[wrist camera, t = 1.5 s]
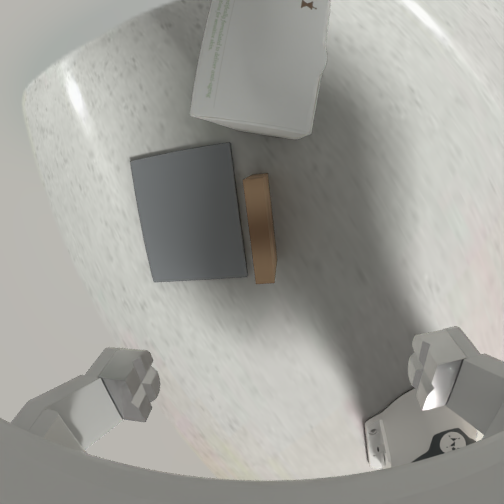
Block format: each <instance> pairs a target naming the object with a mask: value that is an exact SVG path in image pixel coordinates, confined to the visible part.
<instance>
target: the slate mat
mask: <svg viewBox="0 0 504 504" xmlns="http://www.w3.org/2000/svg"><path fill="white" fill-rule="evenodd" d="M130 162H131V169H132V175H133V182H134V188H135V194H136V200H137V205H138V211H139V216H140V221H141V226H142V231H143V236H144V241H145V246H146V250H147V255H148V259H149V264H150V268H151V272H152V277H153V281H154V282H171V281H189V280H206V279H223V278H238V277H247V276H248V274H247V267H246V259H245V252H244V245H243V237H242V230H241V222H240V215H239V207H238V200H237V192H236V185H235V177H234V169H233V162H232V154H231V146H230V143H222V144H216V145H210V146H204V147H198V148H192V149H186V150H181V151H176V152H171V153H166V154H161V155H156V156H151V157H147V158H142V159H138V160H134V161H130Z"/></svg>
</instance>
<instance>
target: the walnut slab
mask: <svg viewBox="0 0 504 504" xmlns="http://www.w3.org/2000/svg"><path fill="white" fill-rule="evenodd" d="M243 186H244V194H245V202H246V209H247V217H248V225H249V233H250V241H251V248H252V256H253V264H254V272H255V280H256V284H265V283H274V282H275V273H276V265H277V254H276V244H275V235H274V226H273V216H272V207H271V198H270V190H269V181H268V173H265V174H255V175H251V176H249V177H247V178H245V179H244V180H243Z"/></svg>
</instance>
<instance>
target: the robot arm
mask: <svg viewBox="0 0 504 504" xmlns="http://www.w3.org/2000/svg"><path fill="white" fill-rule="evenodd" d="M412 348H413V349H414V353H413V354H412V355H411V356H410V357H409V361H408V377H409V381H410V383H411V386H413V387H414V388H415V389H413V390H411V391H409V392H407V393H405V394H404V395H402V396H401V397H399V398H398V399H397V400H395V401H394V402H393V403H392V404H391V405H390V406H389V407H388V408H386V409H385V410H384V411H383V412H382V413H380V414H378V415H376V416H374V417H373V418H371V419H369V420H368V421H366V423H365V433H366V442H367V451H368V460H369V465H370V467H371V468H375V469H381V470H376V471H371V472H365V473H359V474H352V475H345V476H337V477H328V478H317V479H303V480H279V481H254V480H229V479H215V478H203V477H195V476H187V475H180V474H173V473H167V472H161V471H155V470H150V469H145V468H140V467H135V466H131V465H127V464H123V463H118V462H115V461H111V460H107V459H104V458H100V457H97V456H93V455H90V454H87V453H86V451H85V450H86V449H87V448H88V447H90V446H91V445H92V444H93V443H95V442H96V441H97V440H99V439H100V438H101V437H102V436H104V435H105V434H106V433H108V432H109V431H110V430H111V429H113V428H114V427H115V426H117V425H118V424H119V423H120V422H121V421H122V419H125V420H132V421H139V422H146V420H147V418H148V416H149V414H150V412H151V410H152V406H151V403H150V402H152V401H153V400H155V399H156V398H157V396H158V394H159V391H160V378H159V375H158V372H157V370H155V369H154V368H153V367H152V366H151V365H152V363H153V358H152V356H151V353H150V352H149V351H147V350H138V349H127V348H114V347H108V348H105V349H104V351H103V352H102V353H101V355H100V356H99V357H98V358H97V360H96V361H95V362H94V363H93V365H92V366H91V367H90V369H89V370H88V371H87V373H86V374H85V375H80V376H78V377H76V378H74V379H72V380H70V381H68V382H66V383H64V384H62V385H60V386H58V387H56V388H54V389H52V390H50V391H48V392H46V393H44V394H42V395H40V396H38V397H35V398H33V399H31V400H29V401H28V402H27V403H26V404H25V406H24V407H23V408H22V409H21V410H20V412H19V413H18V414H17V416H16V417H15V418H14V419H13V420H12V422H11V423H9V422H7V421H5V420H3V419H1V418H0V504H504V362H503V361H501V360H498V359H496V358H494V357H492V356H489V355H487V354H480V353H479V351H478V350H477V349H476V347H475V346H474V345H473V344H472V342H471V341H470V340H469V339H468V337H467V336H466V335H465V334H464V332H463V331H462V330H461V329H460V328H459V327H457V326H454V327H450V328H446V329H443V330H439V331H434V332H428V333H423V334H417V335H415V336H414V338H413V342H412ZM476 429H477V430H478V431H480V432H481V433H482V434H484V436H483V438H482V440H480V441H477V442H476V441H475V440H476V438H477V430H476Z"/></svg>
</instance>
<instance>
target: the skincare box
mask: <svg viewBox="0 0 504 504" xmlns="http://www.w3.org/2000/svg"><path fill="white" fill-rule="evenodd" d="M330 6H331V4H330V0H212V2H211V6H210V10H209V14H208V18H207V22H206V27H205V31H204V36H203V40H202V45H201V50H200V54H199V59H198V64H197V70H196V76H195V81H194V87H193V93H192V100H191V107H190V116H193V117H196V118H199V119H203V120H206V121H210V122H213V123H216V124H219V125H222V126H225V127H228V128H231V129H234V130H237V131H243V132H249V133H255V134H261V135H268V136H274V137H280V138H287V139H294V140H297V139H300V138H302V137H305V136H308V135H310V134H311V133H312V127H313V121H314V115H315V110H316V105H317V99H318V93H319V88H320V82H321V76H322V72H323V70H324V68H325V66H326V63H327V51H326V48H325V47H326V40H327V32H328V24H329V16H330Z"/></svg>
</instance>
